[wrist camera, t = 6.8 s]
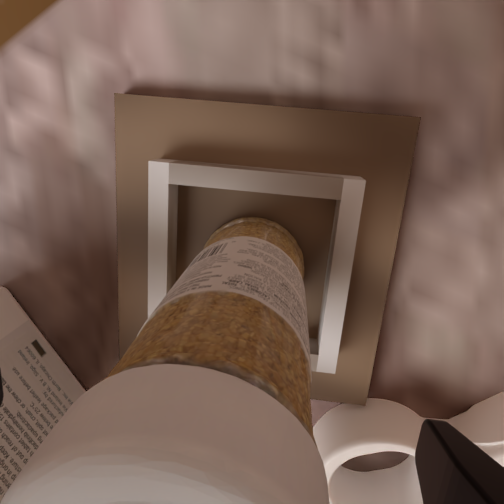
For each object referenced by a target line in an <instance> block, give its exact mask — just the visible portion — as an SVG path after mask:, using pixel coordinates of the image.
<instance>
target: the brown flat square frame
mask: <svg viewBox="0 0 504 504" xmlns="http://www.w3.org/2000/svg"><path fill="white" fill-rule="evenodd" d="M114 99H115V152H116V205H117V258H118V311H119V361H120V360H121V358H122V357H123V355H124V354H125V352H126V351H127V349H128V348H129V346H130V345H131V344H132V342H133V341H134V340H135V339H136V337H137V335H138V333H139V331H140V330H141V328H142V326H143V325H144V323H145V322H146V321H147V319H148V318H149V317H150V315H151V314H152V313H153V311H154V310H155V309H156V308H157V306H158V305H159V304H160V302H161V301H162V300H163V298H164V297H165V296H166V294H167V293H168V292H169V291H170V289H171V288H172V287H173V285H174V284H175V283H176V282H177V280H178V279H179V278H180V276H181V275H182V274H183V273H184V271H185V270H186V269H187V268H188V266H189V265H190V264H191V263H192V261H193V260H194V259H195V257H196V256H197V255H198V254H199V253H200V252H201V251H202V250H203V249H204V246H205V244H206V243H207V241H208V240H209V238H210V236H211V235H212V234H213V233H214V232H215V231H216V230H217V229H219V228H221V227H222V226H223V225H224V224H226V223H229V222H231V221H232V220H235V219H239V218H246V217H257V218H264V219H267V220H270V221H273V222H276V223H278V224H279V225H281V226H282V227H283V228H285V229H286V230H288V232H289V233H290V234H291V235H292V236H293V237H294V239H295V240H296V242H297V244H298V246H299V247H300V249H301V251H302V254H303V261H304V278H303V282H304V288H305V295H306V307H307V318H308V333H309V346H310V359H311V373H312V382H311V386H310V399H315V400H323V401H331V402H339V403H346V404H354V405H362V406H366V401H367V396H368V391H369V386H370V381H371V375H372V370H373V365H374V360H375V354H376V349H377V344H378V339H379V333H380V328H381V323H382V318H383V312H384V307H385V302H386V297H387V291H388V286H389V281H390V276H391V270H392V265H393V260H394V255H395V249H396V244H397V239H398V234H399V229H400V223H401V218H402V213H403V208H404V202H405V197H406V192H407V187H408V181H409V176H410V171H411V166H412V160H413V155H414V150H415V145H416V139H417V134H418V129H419V124H420V118H421V117H411V116H399V115H386V114H373V113H360V112H348V111H335V110H322V109H310V108H297V107H284V106H272V105H259V104H246V103H233V102H221V101H208V100H195V99H183V98H170V97H157V96H144V95H132V94H119V93H114Z"/></svg>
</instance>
